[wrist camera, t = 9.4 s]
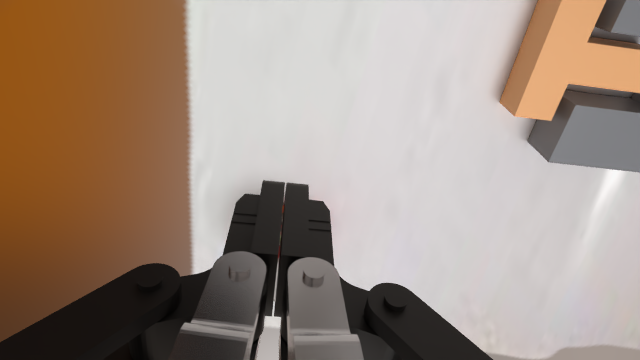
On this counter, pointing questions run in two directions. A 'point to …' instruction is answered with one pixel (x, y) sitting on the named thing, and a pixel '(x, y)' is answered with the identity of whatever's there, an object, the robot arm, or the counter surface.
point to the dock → (596, 113)
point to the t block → (566, 59)
